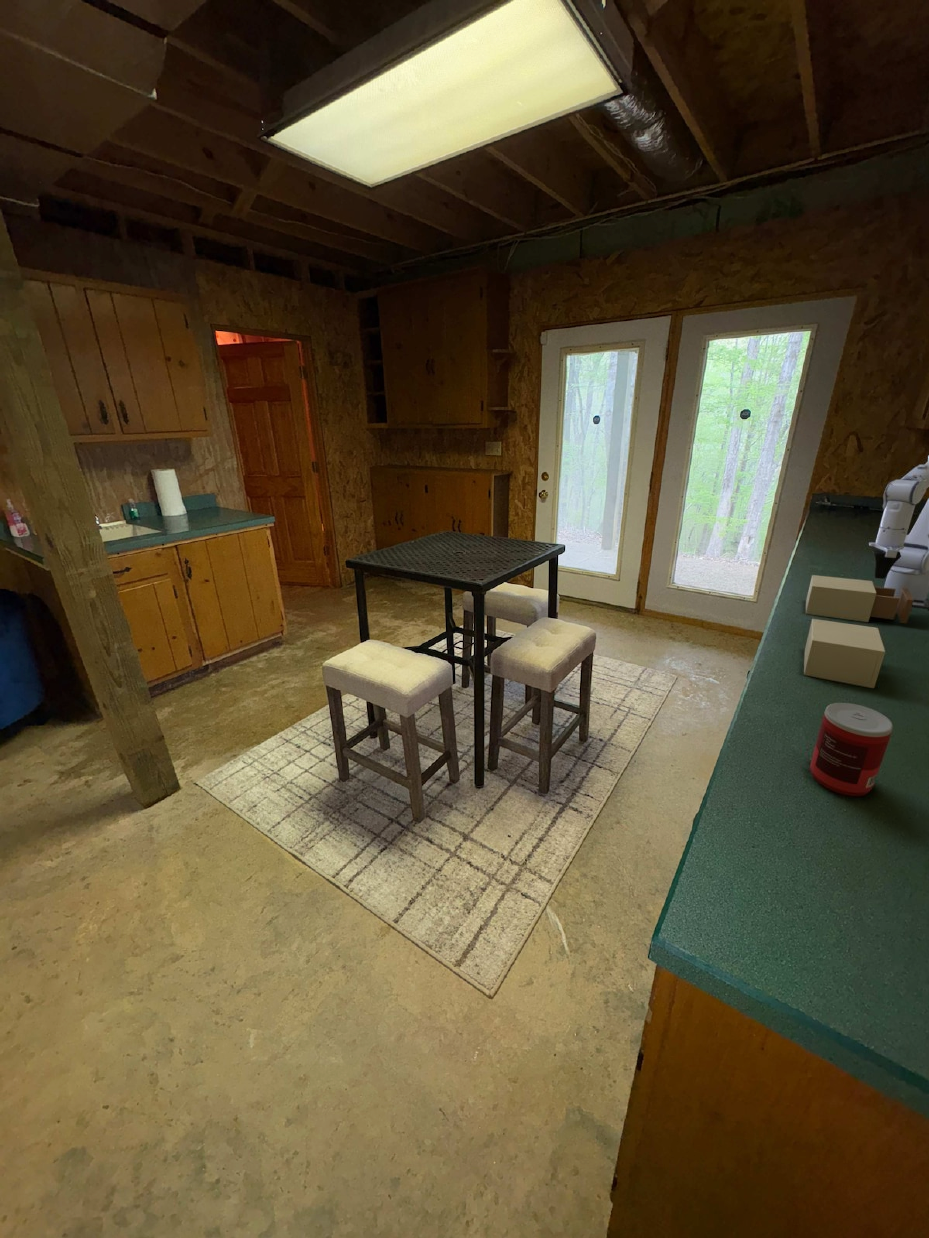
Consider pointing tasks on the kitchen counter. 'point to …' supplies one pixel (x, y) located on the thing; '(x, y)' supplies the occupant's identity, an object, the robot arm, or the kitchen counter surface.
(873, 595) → the cardboard box
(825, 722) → the canned food
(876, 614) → the drawer
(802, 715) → the kitchen counter surface
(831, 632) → the cardboard box
